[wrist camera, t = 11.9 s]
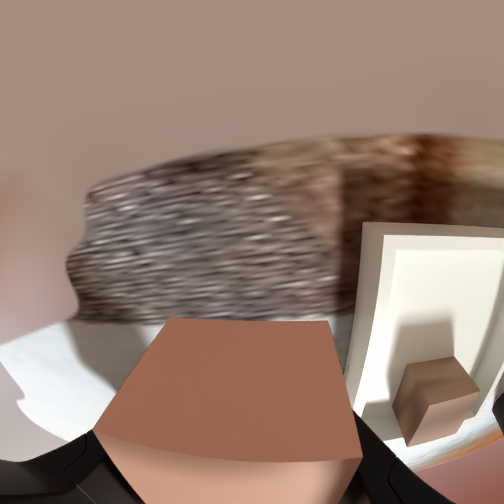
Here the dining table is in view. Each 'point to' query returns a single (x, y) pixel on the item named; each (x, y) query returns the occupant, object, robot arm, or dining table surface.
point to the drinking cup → (499, 412)
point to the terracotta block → (235, 416)
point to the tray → (424, 313)
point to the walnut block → (433, 400)
